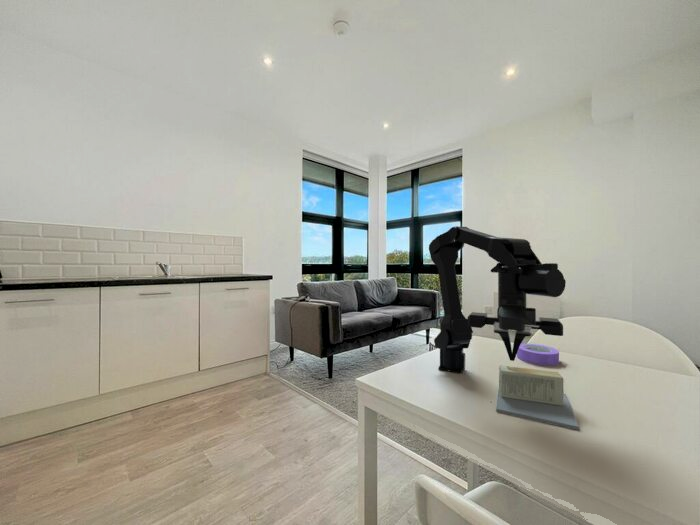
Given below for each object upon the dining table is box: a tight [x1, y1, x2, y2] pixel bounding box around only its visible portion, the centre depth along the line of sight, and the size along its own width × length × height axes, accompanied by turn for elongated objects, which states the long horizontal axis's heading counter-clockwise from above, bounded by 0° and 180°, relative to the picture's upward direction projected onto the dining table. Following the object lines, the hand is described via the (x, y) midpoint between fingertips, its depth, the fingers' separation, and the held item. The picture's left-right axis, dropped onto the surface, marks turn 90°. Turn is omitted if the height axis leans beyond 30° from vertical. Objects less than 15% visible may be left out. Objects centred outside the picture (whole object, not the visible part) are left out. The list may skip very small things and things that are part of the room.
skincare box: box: [498, 364, 565, 406], centre depth 67 cm, size 6×4×12 cm
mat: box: [495, 389, 580, 431], centre depth 66 cm, size 14×16×1 cm
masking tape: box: [516, 343, 560, 366], centre depth 96 cm, size 12×12×4 cm
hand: (512, 360), depth 68 cm, fingers closed
